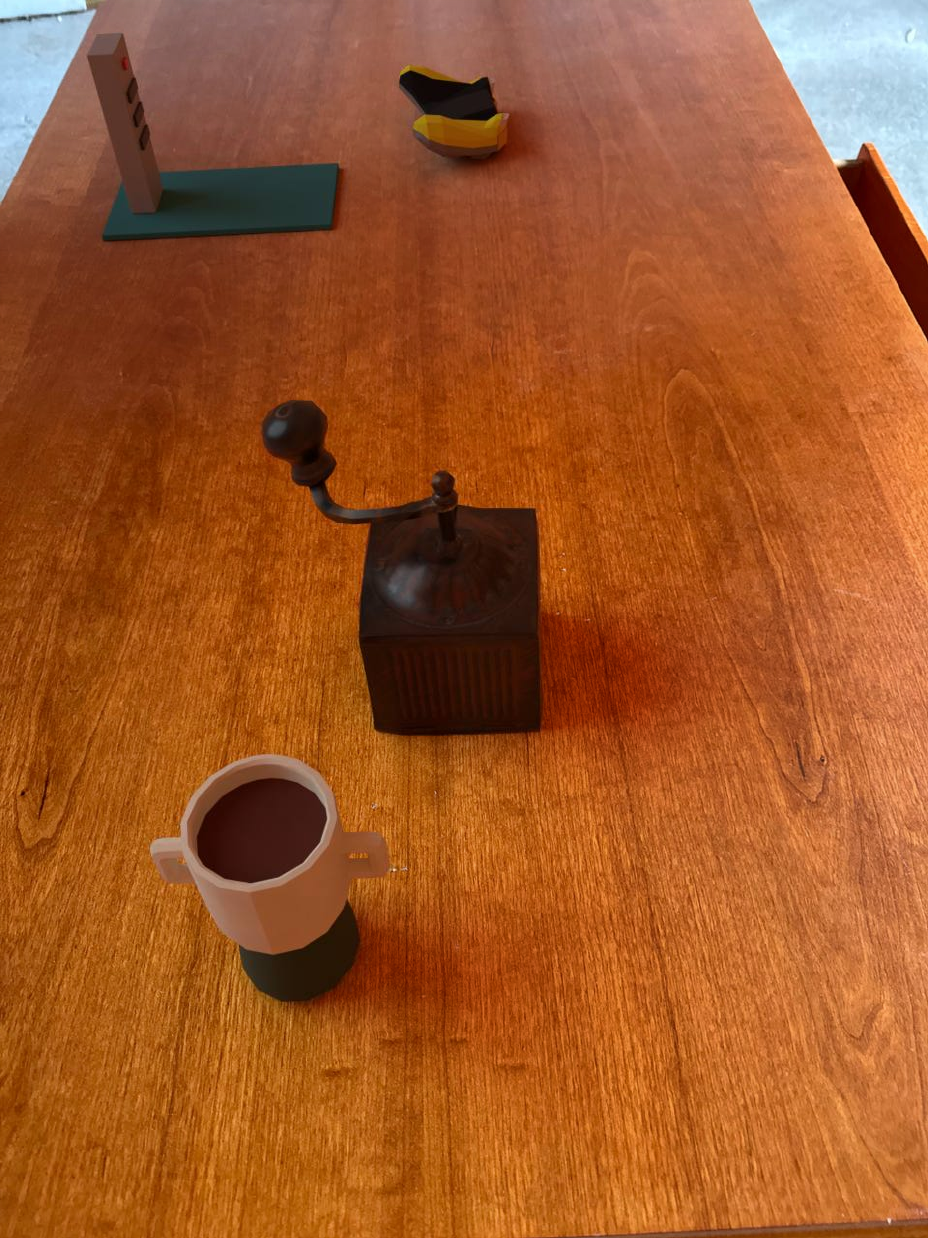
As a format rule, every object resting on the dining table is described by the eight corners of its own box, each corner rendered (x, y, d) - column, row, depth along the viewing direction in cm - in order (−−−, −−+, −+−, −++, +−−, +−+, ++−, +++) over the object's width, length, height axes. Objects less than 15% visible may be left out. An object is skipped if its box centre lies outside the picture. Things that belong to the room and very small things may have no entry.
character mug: (407, 885, 62) (384, 748, 53) (403, 1013, 58) (377, 888, 48) (209, 891, 63) (150, 756, 53) (190, 1018, 58) (121, 896, 48)
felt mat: (103, 240, 109) (101, 235, 109) (125, 179, 117) (124, 173, 117) (331, 229, 109) (331, 223, 108) (339, 168, 117) (338, 162, 116)
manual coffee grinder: (540, 599, 76) (541, 378, 62) (544, 735, 69) (546, 518, 55) (308, 603, 77) (260, 385, 63) (288, 737, 69) (228, 524, 56)
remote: (131, 213, 111) (86, 55, 100) (139, 190, 114) (96, 33, 103) (159, 212, 111) (116, 53, 100) (166, 188, 114) (126, 32, 103)
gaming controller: (418, 179, 114) (516, 166, 115) (414, 125, 110) (515, 112, 111) (399, 112, 124) (490, 101, 125) (395, 60, 120) (488, 49, 121)
